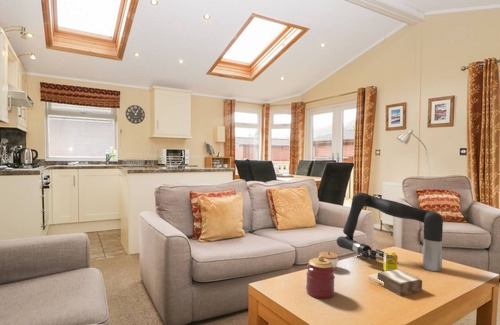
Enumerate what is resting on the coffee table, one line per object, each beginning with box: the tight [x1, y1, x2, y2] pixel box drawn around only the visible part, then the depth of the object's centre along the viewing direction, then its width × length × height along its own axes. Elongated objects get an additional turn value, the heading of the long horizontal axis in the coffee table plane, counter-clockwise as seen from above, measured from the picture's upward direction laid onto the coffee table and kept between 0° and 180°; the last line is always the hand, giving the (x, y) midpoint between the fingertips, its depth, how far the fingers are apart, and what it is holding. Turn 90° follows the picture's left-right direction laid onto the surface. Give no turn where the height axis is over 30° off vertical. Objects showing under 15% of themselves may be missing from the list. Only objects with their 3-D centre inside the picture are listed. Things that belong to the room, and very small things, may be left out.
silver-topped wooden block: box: [377, 268, 423, 297], centre depth 148 cm, size 14×14×6 cm
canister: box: [305, 255, 336, 300], centre depth 140 cm, size 13×13×18 cm
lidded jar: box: [318, 251, 339, 268], centre depth 172 cm, size 11×11×9 cm
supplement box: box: [382, 251, 399, 272], centre depth 167 cm, size 6×6×11 cm
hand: (381, 257), depth 173 cm, fingers open, 8 cm apart
